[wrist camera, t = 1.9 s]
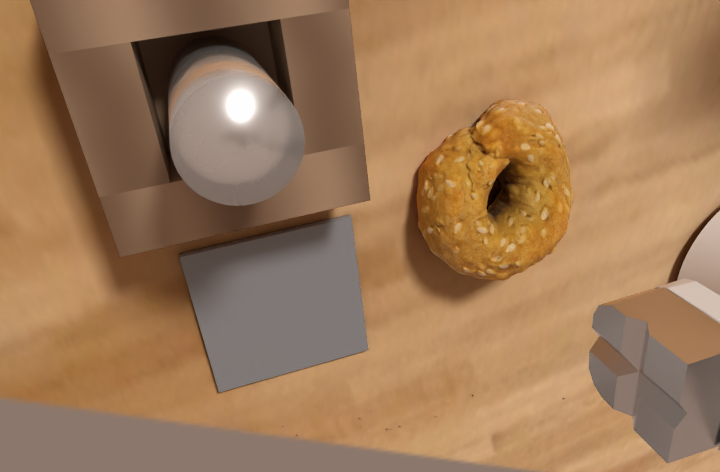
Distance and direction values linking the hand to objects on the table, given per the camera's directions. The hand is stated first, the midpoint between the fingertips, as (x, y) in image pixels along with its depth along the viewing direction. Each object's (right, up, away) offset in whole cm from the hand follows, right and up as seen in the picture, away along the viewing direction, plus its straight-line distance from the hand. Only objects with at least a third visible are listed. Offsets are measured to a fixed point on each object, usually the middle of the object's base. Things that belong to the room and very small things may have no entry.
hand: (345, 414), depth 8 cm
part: (-7, +10, +20) cm, 23 cm away
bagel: (+8, +6, +29) cm, 30 cm away
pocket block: (-7, +10, +21) cm, 24 cm away
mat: (-5, -2, +28) cm, 28 cm away
